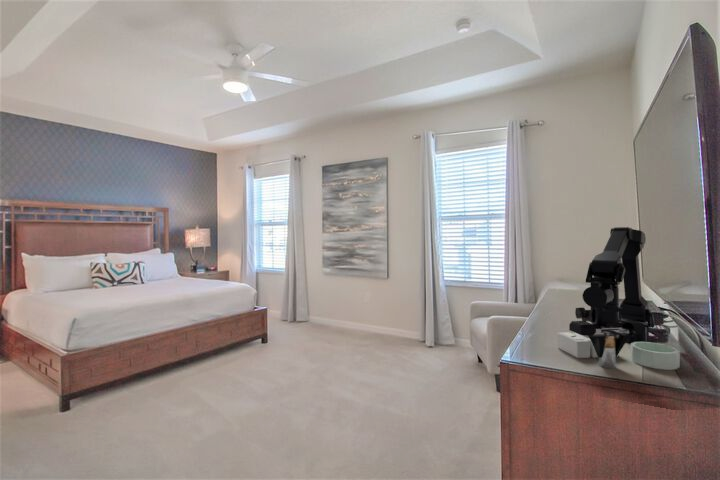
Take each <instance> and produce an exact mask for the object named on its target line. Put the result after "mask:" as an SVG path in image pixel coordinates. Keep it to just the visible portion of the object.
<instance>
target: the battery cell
mask: <svg viewBox="0 0 720 480" xmlns="http://www.w3.org/2000/svg"><path fill="white" fill-rule="evenodd" d="M601 335H604V336H605V342H604V349H603V355H602V358H599V357H598V366H599V367H602V368H604V369H612V370H613V369H616V367H617V365H616V363H617V362H616V361H617V360H616V358H617V357H616V336H615V335H614V334H610V332H609V331H603V332H601Z"/></svg>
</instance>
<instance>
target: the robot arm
mask: <svg viewBox="0 0 720 480" xmlns="http://www.w3.org/2000/svg"><path fill="white" fill-rule="evenodd" d="M609 232H610V235H609V237H608V240H607V242H606V244H605V246H604V248H603V251H602V252H601V253H598V254H596V255H595V256H594V257H593V259H592V261H591V262H589V264H588V270H587V273H586V278H585V283H586V284H587V283H588V284H590V286H589V287H586V289H584V291H582V300H583V301H584V303H585V305H587V306H588V307H590V309H585V307H575V313H574V314H575V318H576V319H577V320H572V321H570V323H569V329H568V330H569V331H571V332H572V333H577V334H580V335H584V336H586V335H587V336H588V337H589V338H590V340H591V342H592V344H593V346H594V349H595V351H596V353H597V356H598V357H597V358H598V359H599V358H602V355H603V349H604V342H605V336H604V335H601V333H602V331H603V332H605V331H607V332H610V334H614V335H615V336H616V358H618V356H619V354H620V352H621V351H622V349H623V347H624V346H625V344H627V343H629V344H631V343H633V342H650V330H649V329H650V328H655V319H654V314H653V313H652V310H651V309H650V306H649V302H648V301H647V300H646V299H645V297H643V296H642V283H641V273H640V261H639V260H640V259H639V258H640V257H639V256H640V253H641V252H642V250H643V249H644V247H645V244H646V234H645V232H643V231H642V230H641V229H633V228H632V227H629V226H627V227H625V226H624V227H623V226H622V227H621V226H619V227H618V226H617V227H616V226H615V227H613V228H612V227H611V229H610V231H609ZM621 283H623V288H624V299H623V300H622V301H621V303H620V299H619V297H620V296H619V295H620V293H619V292H620V290H619V285H620V284H621ZM578 319H579V320H578ZM580 319H581V320H580ZM617 355H618V356H617Z"/></svg>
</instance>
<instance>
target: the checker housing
mask: <svg viewBox="0 0 720 480" xmlns="http://www.w3.org/2000/svg"><path fill="white" fill-rule="evenodd" d="M556 333H557V334H556V335H557V341H556V342H557V349H559V350H562V351H563V352H565V353H567V354H569V355H571V356H573V357H575V358H577V359H581V358H582V359H583V358H585V359H587V358H588V359H589V358H591V357H592V358H599V357H598V356H597V353H596V351H595V349H594V346H593V344H592V342H591V340H590V339H589V338H586V337H588V336H587V335H586V336H584V335H580V334H577V333H575V332H568V331H567V332H566V331H565V332H556ZM617 357H619V354H618V355H617Z"/></svg>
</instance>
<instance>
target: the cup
mask: <svg viewBox="0 0 720 480" xmlns="http://www.w3.org/2000/svg"><path fill="white" fill-rule="evenodd" d="M680 354H681V353H680V350H679V349H678V348H677V347H673V346H671V345H668V344H663V343H658V342H651V341H649V342H633V343H630V359H631V362H633V363H635V364H638V365H640V366H643V367H647V368H650V369H651V368H652V369H655V370H656V369H657V370H666V371H667V370H670V371H671V370H677V369H679V368H680V367H681V366H680V365H681V362H680V361H681V359H680V358H681V357H680Z"/></svg>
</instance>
